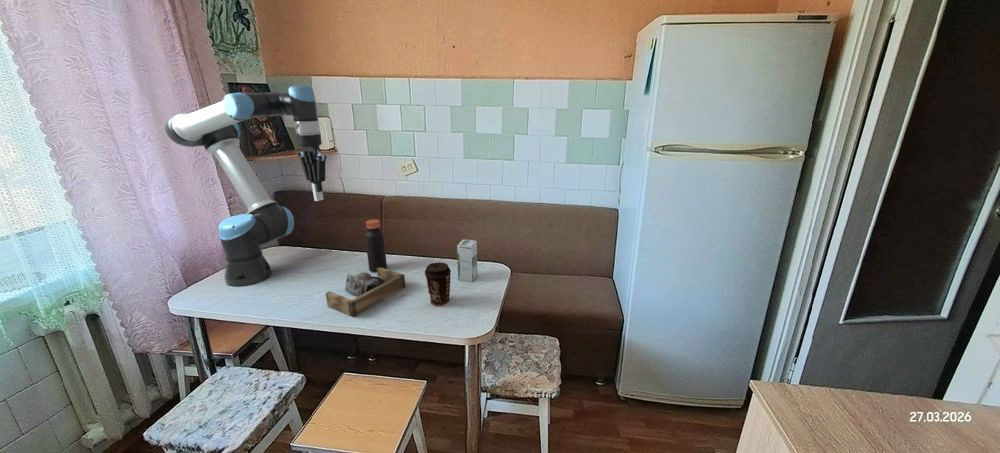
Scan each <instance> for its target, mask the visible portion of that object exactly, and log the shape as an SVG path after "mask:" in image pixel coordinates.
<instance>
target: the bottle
mask: <svg viewBox="0 0 1000 453" xmlns="http://www.w3.org/2000/svg"><path fill="white" fill-rule="evenodd" d="M365 226H366V229H367V231H366V233H365V234H364V237H365V238H364V239H365V247H366V248H365V249H366V255H367V262H368V270H369V271H370V273H375V274H377V268H379V267H381V268H384V269H387V268H388V262H387V256H386V247H385V246H386V245H385V244H386V243H385V237H384V232H383V231H382V230H381V229H380V228H381V227H380V226H381V223H380V220H379V219H369V220H366V221H365Z"/></svg>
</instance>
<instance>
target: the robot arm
mask: <svg viewBox="0 0 1000 453" xmlns="http://www.w3.org/2000/svg"><path fill="white" fill-rule="evenodd" d="M316 100H317V98H316V96H315V93H314V88H313V87H311V86H307V85H306V86H305V85H293V86H291V85H290V86H289V87H288V92H277V91H269V92H234V93H228V94H225V95H224V97H223V99H222V100H221V101H219V102H216V103H214V104H210V105H208V106H206V107H204V108H201V109H198V110H196V111H193V112H190V113H188V112H182V113H178V114H175V115H173V116H171V117H170V118H168V119H167V120H166V122H165V124H164V128H165V133H166V135H167V137H168V138H169V139H170V140H171V141H172V142H174V143H175V144H177V145H180V146H183V147H188V148H190V147H191V148H194V147H204V149H205V150H206V152H207V153H208V154H211V155H213V156H214V157H215V158H216V161H217V162H218V163H219V165H220V166H221V168H222V169H223V171H224V173H225V174H226V176H227V178H228V179H229V181H230V182H231V184H232V186H233V187H234V188H235V190H236V192H237V193H238V195H239V197H240V199H241V200H242V202H243V204H244V205H245V207H246V209H247V212H246V213H240V214H238V215H237V214H236V215H233V216H229V217H227V218H225V219H223V220H222V221H221V222H220V223H219V224H218V237H219V239H220V242H221V246H222V249H223V255H224V258H225V261H226V263H225V271H224V276H223V277H224V281H225V284H226V285H228V286H232V287H242V286H249V285H253V284H256V283H259V282H262V281H264V280H266V279H268V278H270V276H271V275H272V273H273V271H272V266H271V264H269V262H268V261H267V259H266V258H265V256H264V254H263V250H262V246H264V245H266V244H269V243H271V242H273V241H276V240H279V239H283V238H284V237H285V236H288V235H290V234H291V233H292V232H293V230H294V227H295V219H294V215H293V213H292V212H291V210H290V209H288V208H287V207H285V206H280V205H279V203H278V202H277V201H276V200H273V199H271V198H270V196H269V194H268V193H267V192H266V190H265V188H264V187H263V185H262V183H261V182H260V180H259V178H258V177H257V175H256V174H255V171H254V170H253V168H252V166H251V165H250V164H249V162H248V160H247V159H246V157H245V155H244V154H243V152H242V151H241V148H240V147H239V145H240V144H241V143H240V142H241V141H240V137H241V131H240V130H241V129H240V127H239V125H238V123H240V122H244V121H247V120H250V119H253V118H254V119H255V118H261V117H262V118H265V117H267V118H268V117H279V116H293V121H294V122H293V123H294V128H295V133H296V134H297V135H296V140H297V141H296V142H297V145H298V146H299V147H301V152H298V153H297V156H298V158H299V160H300V163H301V166H302V169H303V173H304V176H305V179H306V181H309V182H310V183H311V188H312V189H311V190H312V194H313V198H314V199H313V200H314V202H320V201H323V200H324V193H323V186H322V185H323V182H325V181H326V161H327V155H326V154H323V153H321V152H322V151H321V147H320V146H321V145H322V143H323V142H322V137H321V133H320V132H321V128H320V122H319V116H318V110H317V104H316V103H317V101H316Z"/></svg>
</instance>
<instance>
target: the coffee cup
mask: <svg viewBox="0 0 1000 453" xmlns="http://www.w3.org/2000/svg"><path fill="white" fill-rule="evenodd" d="M424 275H425V279H426V283H427V284H426V285H427V286H426V287H427V291H428V294H429V295H430V300H429V301H430V302H429V303H430V305H431V306H434V307H440V308H441V307H444V306H446V305H448V304H449V302H450V296H451V268H450V267H449V264H448V263H445V262H442V261H441V262H431V263H429V264H428V265H427V266H426V269H425V270H424Z"/></svg>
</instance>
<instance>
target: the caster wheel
mask: <svg viewBox="0 0 1000 453" xmlns="http://www.w3.org/2000/svg"><path fill="white" fill-rule="evenodd" d="M345 282H346V283H345V287H344V292H347V293H349V294H351V295H354V296H355V297H358V296H360V295H362V293H366V292H368V291H370V290H372V289H374V288H375V287H377V286H379V285H381V284H383V283H385V281H384V280H383V279H381V278H378V276H372V274H370V273H369V272H365V271H364V272H359V273H356V274H354V275H353V274H350V273H347V275H346V281H345Z"/></svg>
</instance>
